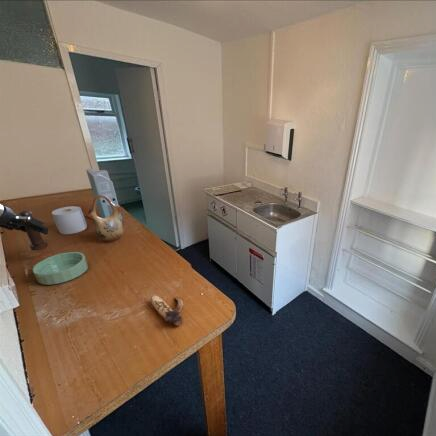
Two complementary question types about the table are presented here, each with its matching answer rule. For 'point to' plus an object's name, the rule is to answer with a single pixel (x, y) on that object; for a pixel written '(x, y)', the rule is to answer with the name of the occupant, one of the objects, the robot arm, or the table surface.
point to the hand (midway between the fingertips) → (40, 231)
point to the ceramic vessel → (106, 222)
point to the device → (103, 191)
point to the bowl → (60, 268)
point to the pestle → (34, 235)
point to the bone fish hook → (168, 310)
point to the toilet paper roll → (69, 220)
